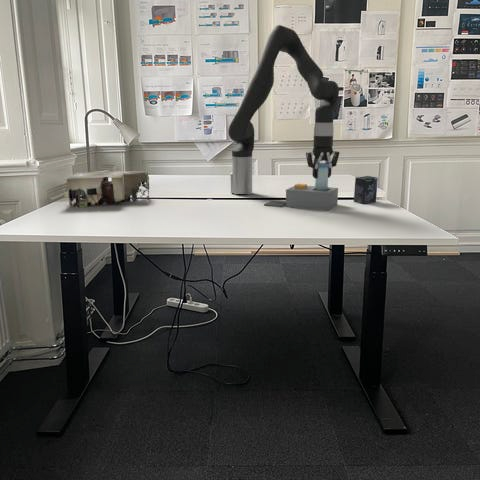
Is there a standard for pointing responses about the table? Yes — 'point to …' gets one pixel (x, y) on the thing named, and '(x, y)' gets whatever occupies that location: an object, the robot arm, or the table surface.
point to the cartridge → (322, 177)
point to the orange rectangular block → (300, 186)
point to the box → (365, 189)
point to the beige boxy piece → (106, 187)
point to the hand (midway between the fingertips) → (321, 177)
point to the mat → (275, 204)
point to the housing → (312, 198)
